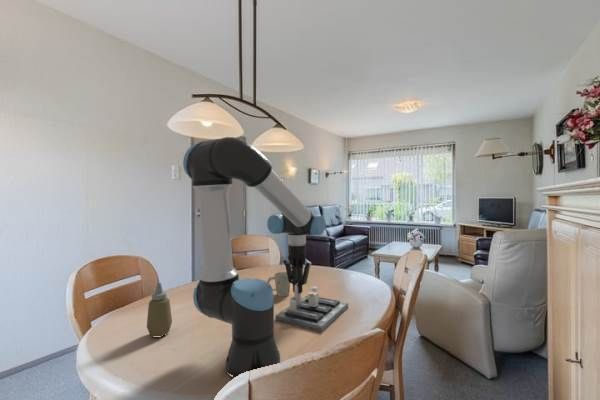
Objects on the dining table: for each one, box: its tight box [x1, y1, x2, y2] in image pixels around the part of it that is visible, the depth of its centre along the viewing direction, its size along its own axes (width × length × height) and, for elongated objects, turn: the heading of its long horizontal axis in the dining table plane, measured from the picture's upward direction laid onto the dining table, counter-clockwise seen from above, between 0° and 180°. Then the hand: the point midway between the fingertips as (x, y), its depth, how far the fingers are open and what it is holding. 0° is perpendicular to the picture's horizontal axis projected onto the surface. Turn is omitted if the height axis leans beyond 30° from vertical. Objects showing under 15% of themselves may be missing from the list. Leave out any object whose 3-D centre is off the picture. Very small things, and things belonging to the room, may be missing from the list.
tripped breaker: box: [308, 291, 320, 307], centre depth 119 cm, size 3×3×5 cm
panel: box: [274, 285, 349, 332], centre depth 119 cm, size 26×20×8 cm
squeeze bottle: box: [146, 282, 173, 337], centre depth 102 cm, size 8×8×18 cm
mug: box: [266, 271, 291, 298], centre depth 143 cm, size 8×13×10 cm, turn 78°
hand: (297, 300), depth 122 cm, fingers closed
